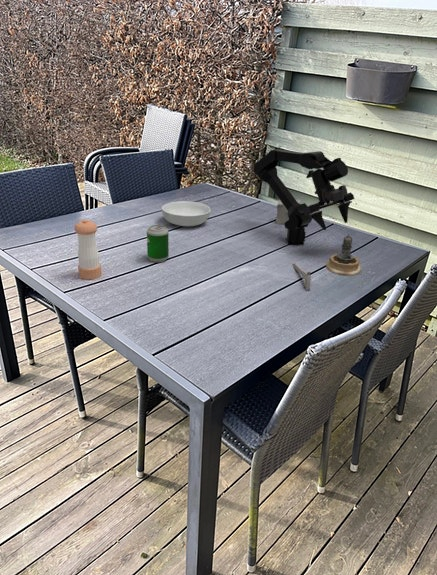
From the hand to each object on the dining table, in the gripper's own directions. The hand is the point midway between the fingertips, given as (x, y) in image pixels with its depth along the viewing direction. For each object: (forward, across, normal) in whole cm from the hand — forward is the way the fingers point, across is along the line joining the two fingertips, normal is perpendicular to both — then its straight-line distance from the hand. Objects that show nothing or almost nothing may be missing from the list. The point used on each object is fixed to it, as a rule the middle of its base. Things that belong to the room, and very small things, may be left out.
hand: (335, 226), depth 175 cm
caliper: (+13, -23, -6) cm, 27 cm away
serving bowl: (-22, -41, +46) cm, 66 cm away
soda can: (-9, -64, +15) cm, 66 cm away
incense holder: (-8, +1, +39) cm, 40 cm away
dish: (+15, -5, -4) cm, 16 cm away
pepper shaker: (-11, -88, +8) cm, 89 cm away
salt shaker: (+14, -4, -4) cm, 15 cm away
